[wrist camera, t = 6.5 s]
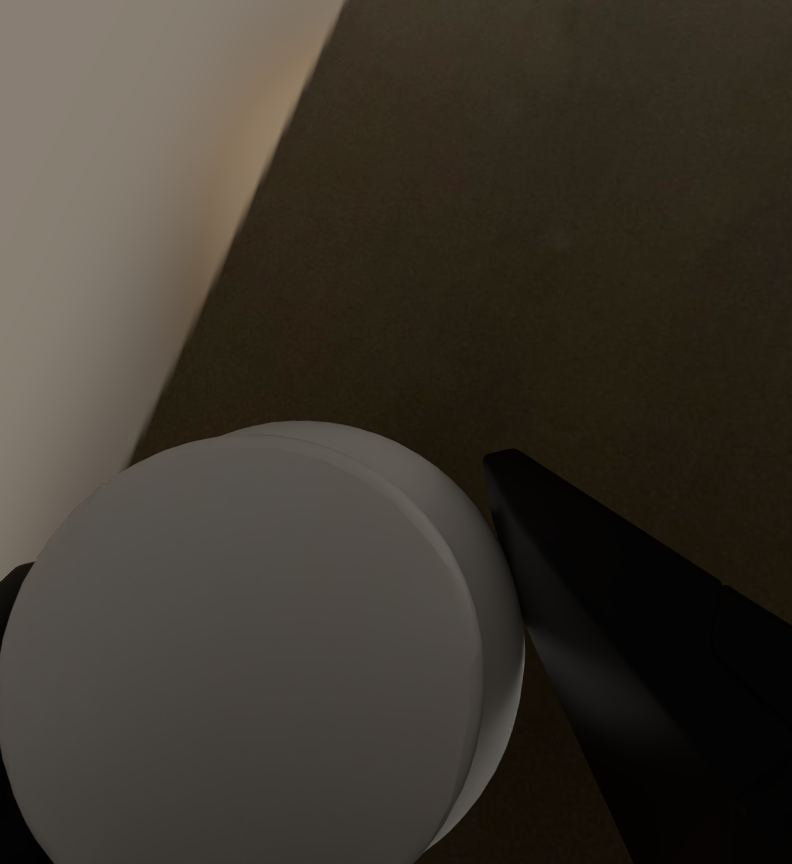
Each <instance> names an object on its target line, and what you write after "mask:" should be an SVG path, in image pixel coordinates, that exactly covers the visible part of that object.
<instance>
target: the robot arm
mask: <svg viewBox="0 0 792 864" xmlns="http://www.w3.org/2000/svg"><path fill="white" fill-rule="evenodd" d="M483 466H484V473H485V479H486V485H487V492H488V498H489V504H490V510H491V514H492V518H493V522H494V525H495V529H496V532H497V535H498V538H499V542H500V545H501V547H502V549H503V552H504V554H505V556H506V558H507V561H508V564H509V567H510V570H511V573H512V576H513V579H514V583H515V586H516V590H517V594H518V598H519V603H520V607H521V612H522V615H523V618H524V621H525V624H526V627H527V629H528V632H529V634H530V636H531V639H532V641H533V644H534V646H535V648H536V650H537V652H538V655H539V657H540V659H541V661H542V663H543V666H544V668H545V670H546V672H547V674H548V677H549V679H550V681H551V683H552V685H553V688H554V690H555V692H556V694H557V696H558V698H559V701H560V703H561V705H562V707H563V709H564V712H565V714H566V716H567V718H568V720H569V723H570V725H571V727H572V729H573V731H574V734H575V736H576V738H577V740H578V742H579V745H580V747H581V749H582V751H583V753H584V756H585V758H586V760H587V762H588V764H589V766H590V769H591V771H592V773H593V775H594V777H595V780H596V782H597V784H598V786H599V788H600V791H601V793H602V795H603V797H604V799H605V802H606V804H607V806H608V808H609V810H610V813H611V815H612V817H613V819H614V821H615V823H616V826H617V828H618V830H619V832H620V834H621V837H622V839H623V841H624V843H625V845H626V848H627V850H628V852H629V854H630V856H631V859H632V861H633V863H634V864H792V625H790V624H789V623H787V622H785V621H784V620H782V619H781V618H779V617H777V616H776V615H774V614H772V613H771V612H769V611H767V610H766V609H764V608H763V607H761V606H759V605H758V604H756V603H754V602H753V601H751V600H750V599H748V598H747V597H745V596H744V595H742V594H740V593H739V592H737V591H736V590H734V589H733V588H731V587H730V586H728V585H723V586H722V583H721V581H720V580H718V579H717V578H715V577H714V576H712V575H711V574H709V573H708V572H706V571H704V570H703V569H701V568H700V567H698V566H697V565H695V564H694V563H692V562H691V561H689V560H687V559H686V558H684V557H683V556H681V555H680V554H678V553H677V552H675V551H674V550H672V549H670V548H669V547H667V546H666V545H664V544H663V543H661V542H660V541H658V540H657V539H655V538H653V537H652V536H650V535H649V534H647V533H646V532H644V531H643V530H641V529H640V528H638V527H636V526H635V525H633V524H632V523H630V522H629V521H627V520H626V519H624V518H623V517H621V516H619V515H618V514H616V513H615V512H613V511H612V510H610V509H609V508H607V507H606V506H604V505H602V504H601V503H599V502H598V501H596V500H595V499H593V498H592V497H590V496H589V495H587V494H585V493H584V492H582V491H581V490H579V489H578V488H576V487H575V486H573V485H572V484H570V483H569V482H567V481H565V480H564V479H562V478H561V477H559V476H558V475H556V474H555V473H553V472H552V471H550V470H548V469H547V468H545V467H544V466H542V465H541V464H539V463H538V462H536V461H535V460H533V459H531V458H530V457H528V456H527V455H525V454H524V453H522V452H521V451H519V450H517V449H514V448H513V449H507V450H503V451H499V452H494V453H490V454H487V455H486V456H485V457H484V459H483ZM34 563H35V562H31V563H27V564H23V565H20V566H18V567H16V568H15V569H14V570H12V571H11V572H10V573H9V574H8V575H7V576H6V577H5V578H4V579H3V580H2V581H1V582H0V653H1V647H2V642H3V637H4V634H5V630H6V627H7V624H8V620H9V617H10V614H11V611H12V608H13V606H14V603H15V601H16V598H17V596H18V593H19V591H20V588H21V585H22V583H23V581H24V580H25V578H26V576H27V575H28V573H29V571H30V569H31V568H32V566H33V564H34ZM0 864H54V863H53V862H52V860H51V859H50V858H49V856H48V855H47V854H46V852H45V851H44V850H43V848H42V847H41V846H40V845H39V843H38V842H37V841H36V839H35V838H34V836H33V834H32V832H31V831H30V829H29V827H28V826H27V824H26V822H25V820H24V818H23V815H22V813H21V811H20V809H19V806H18V804H17V802H16V799H15V797H14V795H13V791H12V788H11V784H10V781H9V778H8V775H7V771H6V768H5V765H4V762H3V759H2V753H1V747H0Z"/></svg>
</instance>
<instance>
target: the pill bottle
mask: <svg viewBox="0 0 792 864" xmlns="http://www.w3.org/2000/svg"><path fill="white" fill-rule="evenodd" d="M524 661H525V640H524V625H523V617H522V612H521V607H520V603H519V598H518V594H517V590H516V586H515V583H514V579H513V576H512V573H511V570H510V567H509V564H508V561H507V558H506V556H505V554H504V552H503V549H502V547H501V545H500V543H499V542H498V540H497V538H496V536H495V535H494V533H493V531H492V529H491V528H490V526H489V524H488V522H487V521H486V520H485V518H484V517H483V515H482V514H481V512H480V511H479V510H478V508H477V507H476V506H475V504H474V503H473V502H472V501H471V500H470V499H469V497H468V496H467V495H466V494H465V493H464V492H463V491H462V490H461V489H460V488H459V487H458V486H457V485H456V484H455V483H454V482H453V481H452V480H451V479H450V478H449V477H448V476H447V475H446V474H444V473H443V472H442V471H441V470H439V469H438V468H437V467H436V466H434V465H433V464H432V463H430V462H429V461H427V460H426V459H424V458H423V457H421V456H420V455H418V454H416V453H415V452H413V451H411V450H409V449H408V448H406V447H404V446H402V445H401V444H399V443H397V442H395V441H392V440H390V439H388V438H385V437H383V436H380V435H378V434H375V433H371V432H368V431H364V430H362V429H359V428H354V427H350V426H347V425H341V424H334V423H328V422H315V421H285V422H272V423H267V424H262V425H256V426H252V427H248V428H244V429H240V430H237V431H234V432H231V433H228V434H225V435H222V436H220V437H214V438H209V439H204V440H199V441H194V442H189V443H186V444H183V445H180V446H177V447H174V448H171V449H168V450H164V451H162V452H160V453H158V454H156V455H153V456H151V457H149V458H147V459H145V460H143V461H141V462H139V463H137V464H135V465H133V466H131V467H130V468H128V469H126V470H124V471H123V472H121V473H119V474H118V475H116V476H115V477H114V478H112V479H111V480H109V481H108V482H106V483H105V484H103V485H102V486H101V487H99V488H98V489H97V490H95V492H93V493H92V494H91V495H90V496H89V497H88V498H86V499H85V500H84V501H83V502H82V503H81V504H80V505H79V506H78V507H76V508H75V509H74V511H73V512H72V513H71V514H70V515H69V516H68V518H67V519H66V520H65V521H64V522H63V523H62V524H61V526H60V527H59V528H58V529H57V530H56V531H55V533H54V534H53V535H52V537H51V538H50V539H49V541H48V542H47V544H46V545H45V547H44V548H43V550H42V551H41V553H40V554H39V556H38V558H37V560H36V561H35V563H34V564H33V566H32V568H31V569H30V571H29V573H28V575H27V576H26V578H25V580H24V581H23V583H22V585H21V588H20V591H19V593H18V596H17V598H16V601H15V603H14V606H13V608H12V611H11V614H10V617H9V620H8V624H7V627H6V630H5V634H4V637H3V642H2V647H1V653H0V747H1V753H2V759H3V762H4V765H5V768H6V771H7V775H8V778H9V781H10V784H11V788H12V791H13V795H14V797H15V799H16V802H17V804H18V806H19V809H20V811H21V813H22V815H23V818H24V820H25V822H26V824H27V826H28V827H29V829H30V831H31V832H32V834H33V836H34V838H35V839H36V841H37V842H38V843H39V845H40V846H41V847H42V848H43V850H44V851H45V852H46V854H47V855H48V856H49V858H50V859H51V860H52V862H53V863H54V864H414V863H415V862H416V861H417V860H418V858H419V857H420V856H421V855H422V854H423V852H425V851H426V850H427V849H429V848H430V847H431V846H433V845H434V844H435V843H436V842H438V841H439V840H440V839H442V838H443V837H444V836H445V835H446V834H447V833H448V832H449V831H450V830H451V829H452V828H453V827H454V826H455V825H456V824H457V823H458V822H459V821H460V820H461V819H462V818H463V816H464V815H465V814H466V813H467V812H468V810H469V809H470V808H471V807H472V805H473V804H474V803H475V802H476V800H477V799H478V798H479V796H480V795H481V794H482V792H483V790H484V789H485V787H486V785H487V784H488V782H489V781H490V779H491V777H492V776H493V774H494V772H495V771H496V769H497V766H498V764H499V762H500V760H501V758H502V756H503V753H504V751H505V749H506V746H507V744H508V741H509V738H510V735H511V732H512V729H513V726H514V722H515V718H516V714H517V710H518V705H519V701H520V694H521V687H522V679H523V671H524Z"/></svg>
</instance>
